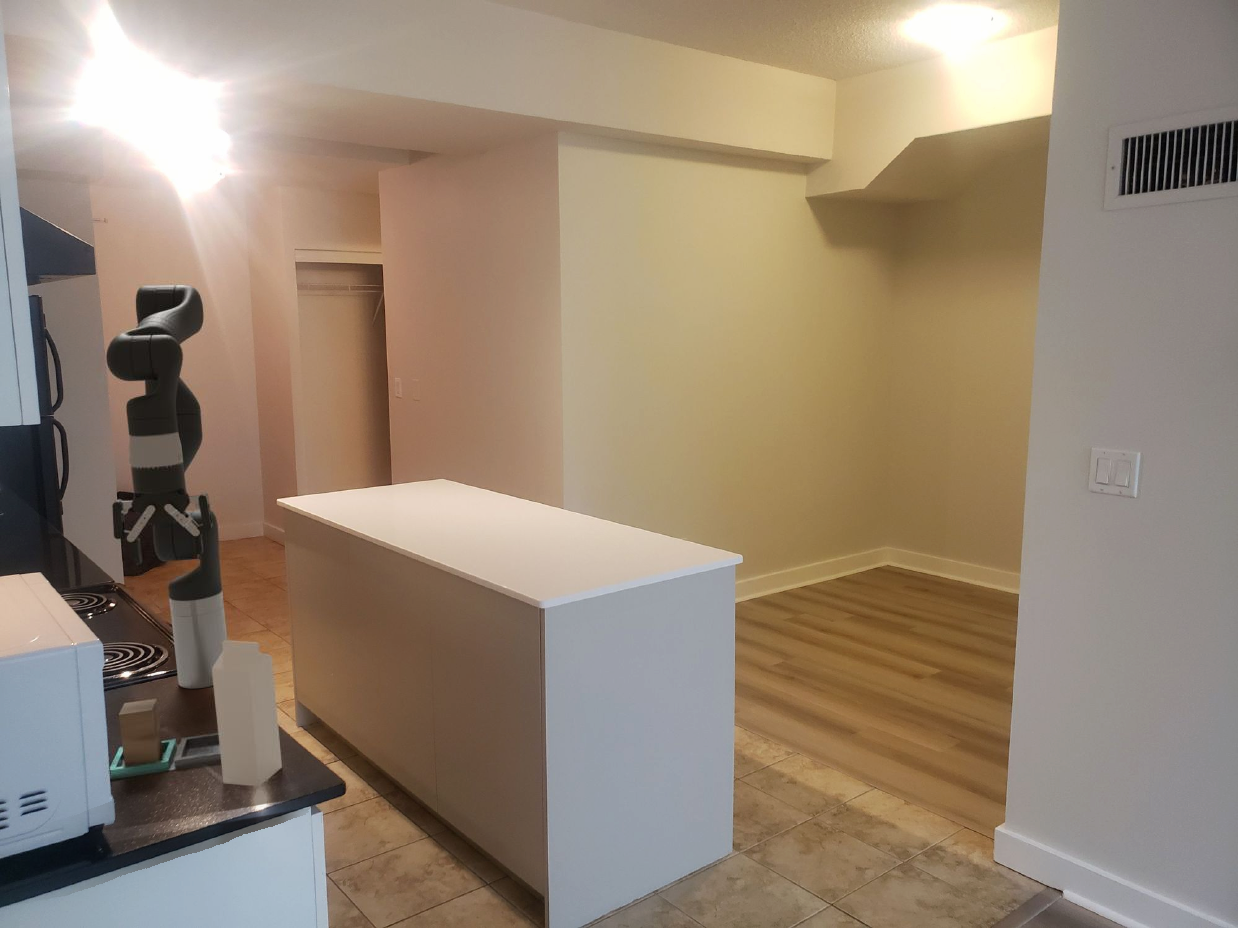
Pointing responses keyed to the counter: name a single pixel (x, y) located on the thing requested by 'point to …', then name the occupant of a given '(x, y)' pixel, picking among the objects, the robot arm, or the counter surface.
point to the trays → (173, 756)
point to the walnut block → (140, 732)
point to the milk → (246, 714)
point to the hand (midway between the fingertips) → (167, 560)
